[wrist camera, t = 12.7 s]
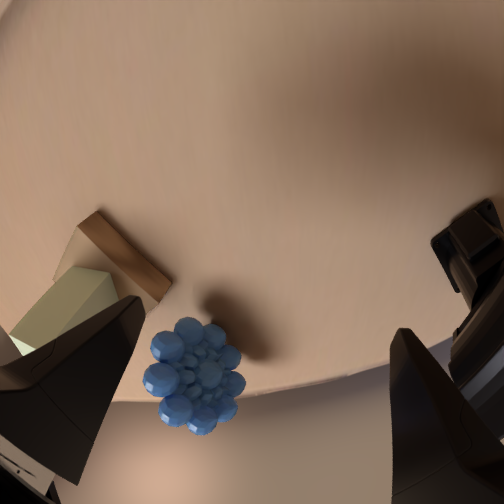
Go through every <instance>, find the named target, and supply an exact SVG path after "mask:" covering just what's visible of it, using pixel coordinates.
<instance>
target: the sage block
mask: <svg viewBox="0 0 504 504" xmlns="http://www.w3.org/2000/svg"><path fill="white" fill-rule="evenodd" d="M117 301H119V299H118V296H117V293H116V290H115V287H114V284H113V281H112V278H111V274H110V273H108V272H103V271H97V270H92V269H86V268H81V267H76V266H72V267H70V268H69V269H68V270H67V271H66V272H65V273H64V274H63V275H62V276H61V277H60V278H59V279H58V280H57V281H56V283H55V284H54V285H53V286H52V287H51V288H50V289H49V290H48V291H47V292H46V293H45V294H44V295H43V296H42V297H41V298H40V299H39V300H38V301H37V303H36V304H35V305H34V306H33V307H32V308H31V309H30V310H29V311H28V313H27V314H26V315H25V316H24V317H23V318H22V319H21V320H20V322H19V323H18V324H17V325H16V326H15V327H14V329H13V330H12V331H11V332H10V333H9V336H10V337H11V339H12V340H13V342H14V343H15V345H16V346H17V348H18V349H19V350H20V352H21V353H22V355H23V356H24V355H26V354H28V353H30V352H32V351H34V350H36V349H38V348H40V347H41V346H43V345H45V344H46V343H48V342H50V341H51V340H53V339H55V338H56V339H57V337H58V336H60V335H61V334H63V333H65V332H66V331H68V330H70V329H72V328H73V327H75V326H77V325H78V324H80V323H82V322H83V321H85V320H87V319H88V318H90V317H92V316H93V315H95V314H97V313H99V312H100V311H102V310H104V309H105V308H107V307H109V306H111V305H112V304H114V303H116V302H117Z"/></svg>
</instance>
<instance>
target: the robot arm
mask: <svg viewBox="0 0 504 504" xmlns="http://www.w3.org/2000/svg"><path fill="white" fill-rule="evenodd" d="M488 204H489V207H488V208H487V205H488ZM437 242H439V243H438V245H435V244H436V243H437ZM431 247H432V249H433V250H434V252H435V254H436V256H437V258H438V259H439V261H440V263H441V265H442V267H443V269H444V271H445V273H446V275H447V277H448V279H449V281H450V283H451V285H452V287H453V289H454V291H455V292H456V293H459V292H461V293H462V295H463V297H464V299H465V301H466V303H467V305H468V307H469V309H470V311H471V312H470V313H469V314H468V316H467V317H466V319H465V320H464V321H463V323H462V324H461V325H460V327H459V328H457V329H456V330H455V331H454V332H453V345H452V347H451V361H450V362H449V364H448V367H449V371H450V375H451V378H452V380H453V381H452V380H451V378H450V377H449V376H448V375H447V373H446V372H445V371H444V369H443V368H442V367H441V366H440V364H439V363H438V362H437V361H436V359H435V358H434V357H433V356H432V354H431V353H430V352H429V351H428V349H427V348H426V347H425V346H424V345H423V343H422V342H421V341H420V340H419V338H418V337H417V336H416V335H415V334H414V332H413V331H412V330H411V329H409V328H399V329H398V330H397V332H396V334H395V336H394V338H393V341H392V343H391V345H390V404H391V418H392V446H393V480H392V481H393V482H392V502H391V504H504V445H503V444H502V443H501V442H500V440H501V439H503V438H504V232H503V229H502V226H501V223H500V220H499V217H498V215H497V212H496V209H495V207H494V204H493V202H492V201H491V200H489V199H486V200H484V201H483V202H482V203H481V204H479V205H478V206H477V207H475V208H474V209H473V210H471V211H469V212H468V213H467V214H465V215H464V216H463V217H461V218H460V219H459V220H457V221H456V222H455V223H453V224H452V225H451V226H450V227H449V228H447V229H446V230H444V231H443V232H442V233H440V234H439V235H437V236H436V237H434V238H433V239H432V240H431ZM458 287H459V288H458ZM145 317H146V312H145V309H144V306H143V302H142V299H141V297H140V296H137V295H132V294H131V295H128V296H126V297H124V298H123V299H121V300H119V301H117V302H116V303H114V304H112V305H111V306H109V307H107V308H105V309H104V310H102V311H100V312H99V313H97V314H95V315H93V316H92V317H90V318H88V319H87V320H85V321H83V322H82V323H80V324H78V325H77V326H75V327H73V328H72V329H70V330H68V331H66V332H65V333H63V334H61V335H60V336H58V337H57V339H56V338H55V339H53V340H51V341H50V342H48V343H46V344H45V345H43V346H41V347H40V348H38V349H36V350H34V351H32V352H30V353H28V354H26V355H24V356H22V357H20V358H18V359H16V360H14V361H12V362H10V363H8V364H6V365H4V366H0V504H61V502H60V499H59V497H58V494H57V491H56V488H55V485H54V481H52V480H53V477H54V475H55V474H57V475H59V476H60V477H62V478H64V479H66V480H67V481H69V482H71V483H73V484H75V485H76V486H77V485H78V484H79V481H80V478H81V475H82V473H83V470H84V467H85V465H86V462H87V459H88V457H89V454H90V452H91V449H92V447H93V444H94V441H95V438H96V436H97V434H98V431H99V429H100V426H101V424H102V422H103V419H104V417H105V414H106V412H107V410H108V407H109V405H110V403H111V400H112V398H113V396H114V394H115V391H116V389H117V387H118V385H119V382H120V380H121V378H122V376H123V373H124V371H125V369H126V367H127V365H128V363H129V360H130V358H131V356H132V354H133V351H134V349H135V346H136V343H137V340H138V337H139V335H140V332H141V329H142V326H143V323H144V321H145Z"/></svg>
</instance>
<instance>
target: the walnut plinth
mask: <svg viewBox="0 0 504 504" xmlns="http://www.w3.org/2000/svg"><path fill="white" fill-rule="evenodd" d="M72 266H76V267H81V268H86V269H92V270H97V271H103V272H108V273H110V274H111V278H112V281H113V284H114V287H115V290H116V293H117V296H118V299H119V300H121V299H123V298H124V297H126V296H128V295H131V294H132V295H137V296H140V297H141V299H142V302H143V306H144V309H145V312H146V314H147V313H148V312H149V311H150V310H152V309H153V308H154V307H155V306H156V305H157V304H159V302H160V301H161V299H162V298H163V296H164V294H165V293H166V291H167V290H168V288H169V287H170V285H171V283H172V282H170V281H169V280H168V279H167V278H166V277H165V276H164V275H163V274H161V273H160V272H159V271H158V270H157V269H156V268H155V267H154V266H153V265H152V264H150V263H149V262H148V261H147V260H146V259H145V258H144V257H143V256H142V255H141V254H140V253H139V252H138V251H136V250H135V249H134V248H133V247H132V246H131V245H130V244H129V243H128V242H127V241H126V240H125V239H124V238H123V237H122V236H121V235H120V234H119V233H118V232H117V231H116V230H115V229H114V228H113V227H112V226H111V225H110V224H108V223H107V222H106V221H105V220H104V219H103V218H102V217H101V216H100V214H99V213H98V212H97V211H96V212H94V213H93V214H92V215H90V216H89V217H88V218H86V219H85V220H84V221H82V222H81V223H80V224H79V225H77V226H76V228H75V230H74V232H73V235H72V237H71V239H70V241H69V243H68V245H67V247H66V249H65V252H64V254H63V256H62V258H61V260H60V263H59V265H58V267H57V270H56V272H55V275H54V277H53V279H52V280H53V281H54V282H55V283H56V281H57V280H58V279H59V278H60V277H61V276H62V275H63V274H64V273H65V272H66V271H67V270H68V269H69V268H70V267H72Z"/></svg>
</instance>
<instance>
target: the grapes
mask: <svg viewBox="0 0 504 504" xmlns="http://www.w3.org/2000/svg"><path fill="white" fill-rule="evenodd" d="M225 342H226V333H225V332H224V330H223V329H222V328H221V327H219V326H218V325H215V324H208V325H205V326H203V325H202V324H201V323H200V322H199V321H198V320H196V319H195V318H191V317H185V318H182V319H180V320H179V321H178V322H177V323H176V324H175V327H174V332H171V331H162V332H159V333H157V334H156V335H155V337H154V338H153V339H152V342H151V347H150V349H151V352H152V354H153V356H154V358H155V359H156V360H158V361H159V362H160V363H159V362H158V363H155V364H152V365H150V366H149V367H148V368H147V369H146V370H145V373H144V377H143V383H144V386H145V388H146V390H147V391H148V392H149V393H150V394H152V395H153V396H156V397H164V398H163V399H162V401H161V402H160V404H159V410H158V413H159V415H160V417H161V419H162V421H163V422H164V423H166V424H167V425H169V426H173V427H179V426H182V425H184V424H186V425H187V427H188V428H189V430H190V431H191V432H193V433H195V434H196V435H205V434H208V433H210V432H212V430H213V429H214V428H215V427H216V425H217V422H227V421H229V420H231V419H232V418H233V417H234V416H235V414H236V412H237V409H238V405H237V402H236V401H235V399H234V398H233V397H236V396H238V395H240V394H241V393H242V392H243V390H244V388H245V386H246V381H245V379H244V377H243V376H242V375H241V374H239V373H238V372H236V371H231V370H233V369H236V367H237V366H238V365H239V364H240V361H241V353H240V352H239V350H238V349H237V348H235V347H234V346H232V345H225Z"/></svg>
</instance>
